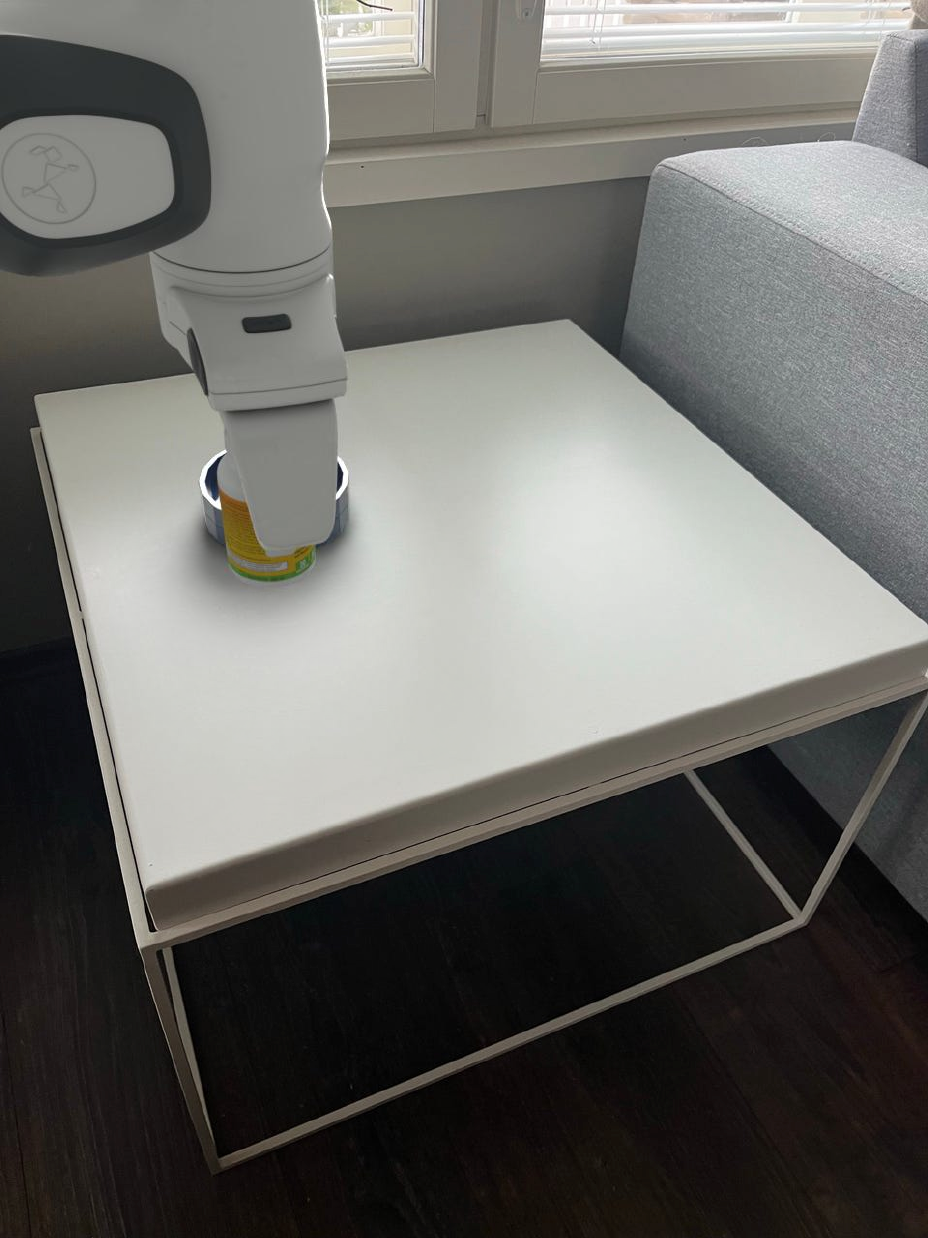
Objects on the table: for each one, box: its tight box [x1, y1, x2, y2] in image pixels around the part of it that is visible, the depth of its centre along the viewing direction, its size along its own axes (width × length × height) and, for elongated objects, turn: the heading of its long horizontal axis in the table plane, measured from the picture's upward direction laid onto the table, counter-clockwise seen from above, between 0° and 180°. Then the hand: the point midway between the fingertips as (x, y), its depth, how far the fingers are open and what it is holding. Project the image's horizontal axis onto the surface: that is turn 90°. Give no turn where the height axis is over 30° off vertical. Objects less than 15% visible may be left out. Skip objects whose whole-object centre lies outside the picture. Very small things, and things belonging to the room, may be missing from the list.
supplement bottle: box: [217, 427, 317, 589], centre depth 57 cm, size 5×5×10 cm
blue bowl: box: [198, 449, 351, 550], centre depth 88 cm, size 13×13×4 cm
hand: (267, 515), depth 58 cm, fingers closed on supplement bottle, 5 cm apart
